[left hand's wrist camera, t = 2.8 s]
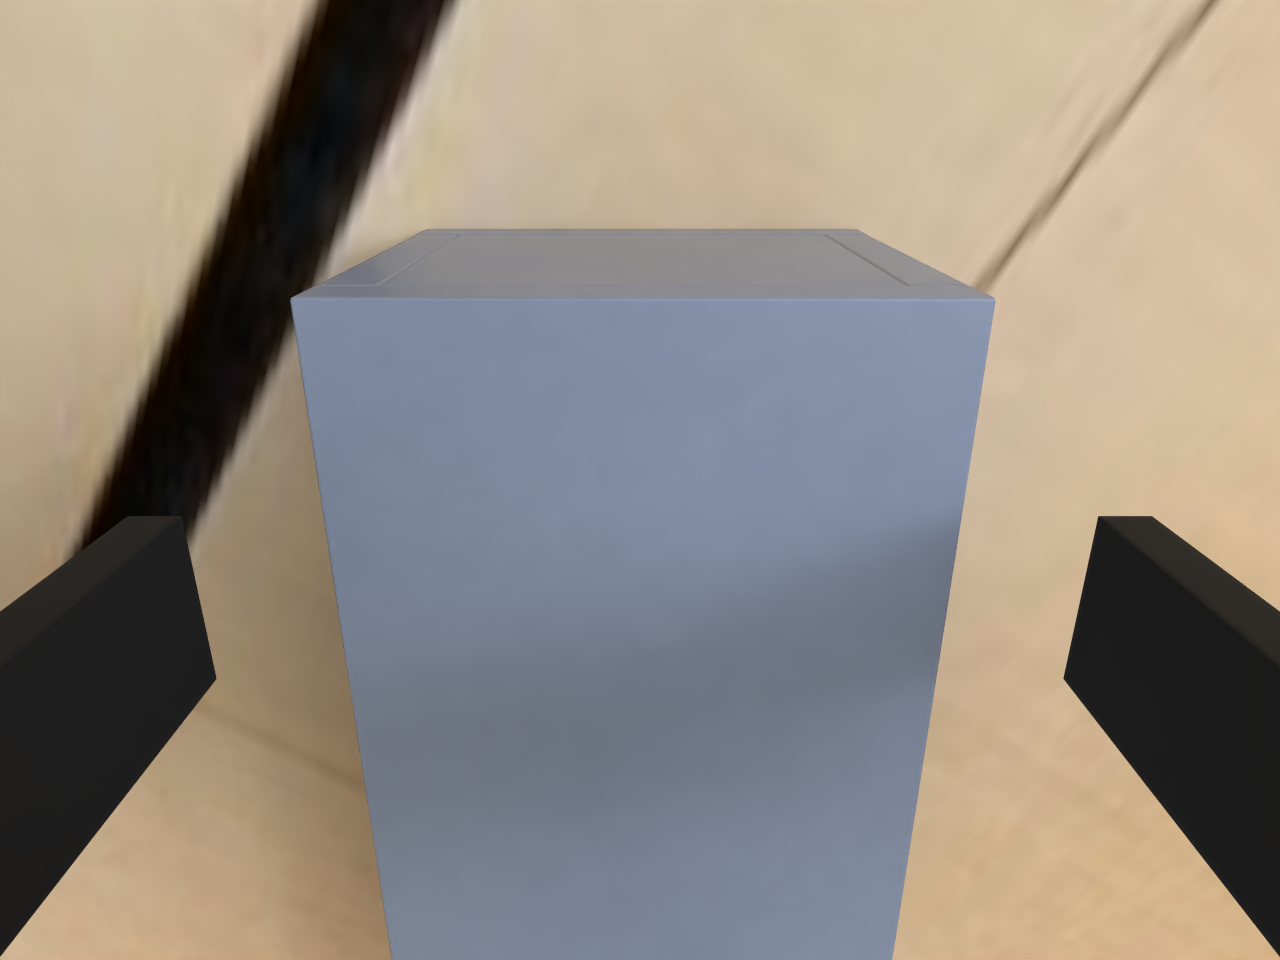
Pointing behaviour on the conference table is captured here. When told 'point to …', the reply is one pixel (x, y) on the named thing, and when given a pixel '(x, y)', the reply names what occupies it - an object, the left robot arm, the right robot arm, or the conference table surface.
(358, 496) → the cabinet
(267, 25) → the conference table surface
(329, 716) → the conference table surface
